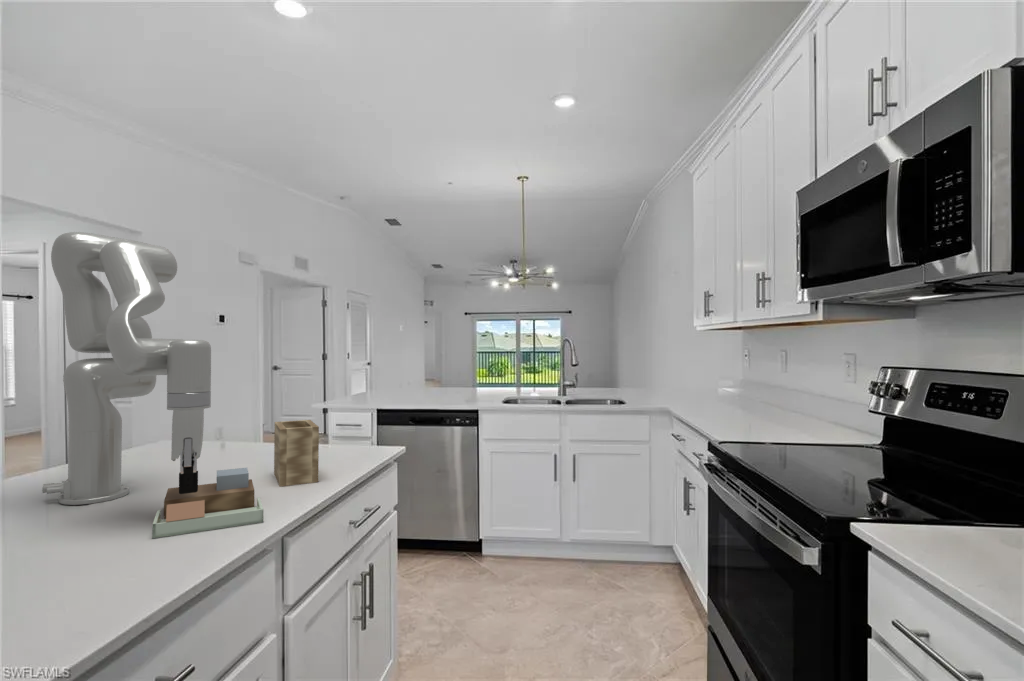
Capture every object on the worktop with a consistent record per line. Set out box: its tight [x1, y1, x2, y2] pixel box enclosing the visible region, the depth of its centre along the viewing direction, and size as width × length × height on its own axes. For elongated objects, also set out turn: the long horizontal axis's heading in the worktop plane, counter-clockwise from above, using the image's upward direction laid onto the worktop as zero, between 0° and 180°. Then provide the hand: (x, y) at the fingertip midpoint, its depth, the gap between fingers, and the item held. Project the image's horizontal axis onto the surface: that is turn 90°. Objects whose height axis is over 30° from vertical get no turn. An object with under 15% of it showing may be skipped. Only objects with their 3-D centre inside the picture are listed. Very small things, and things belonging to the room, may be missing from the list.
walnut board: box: [163, 478, 255, 519], centre depth 111 cm, size 16×10×4 cm, turn 120°
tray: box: [151, 496, 264, 539], centre depth 102 cm, size 18×10×2 cm, turn 120°
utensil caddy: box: [273, 419, 320, 488], centre depth 136 cm, size 9×14×14 cm, turn 30°
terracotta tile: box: [166, 500, 205, 522], centre depth 99 cm, size 6×6×3 cm
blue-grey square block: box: [216, 467, 250, 491], centre depth 114 cm, size 6×6×3 cm
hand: (188, 492), depth 105 cm, fingers closed
